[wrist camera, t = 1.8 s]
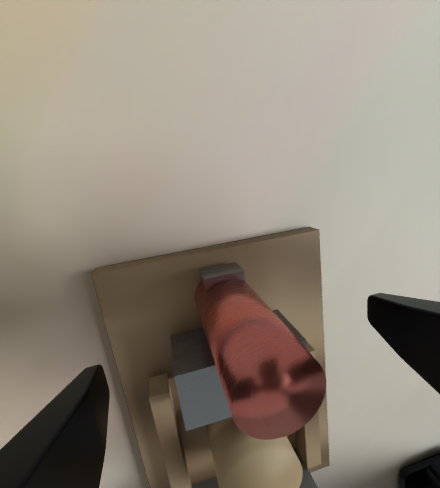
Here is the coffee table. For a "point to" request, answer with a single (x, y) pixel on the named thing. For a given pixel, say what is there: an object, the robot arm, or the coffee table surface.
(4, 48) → the coffee table surface
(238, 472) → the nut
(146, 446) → the beige mounting plate
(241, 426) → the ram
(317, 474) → the coffee table surface
